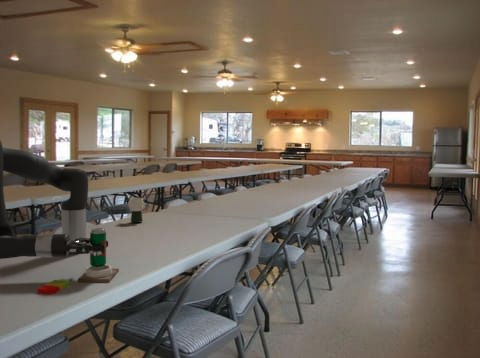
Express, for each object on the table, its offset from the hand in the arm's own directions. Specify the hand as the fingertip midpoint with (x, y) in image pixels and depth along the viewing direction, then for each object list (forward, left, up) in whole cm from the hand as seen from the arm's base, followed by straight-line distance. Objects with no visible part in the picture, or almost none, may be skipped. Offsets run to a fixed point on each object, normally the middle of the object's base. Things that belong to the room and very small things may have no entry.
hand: (106, 245), depth 154 cm
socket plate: (0, -2, -10) cm, 11 cm away
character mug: (-97, -9, -11) cm, 98 cm away
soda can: (0, -3, -7) cm, 7 cm away
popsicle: (+10, -12, -11) cm, 19 cm away
